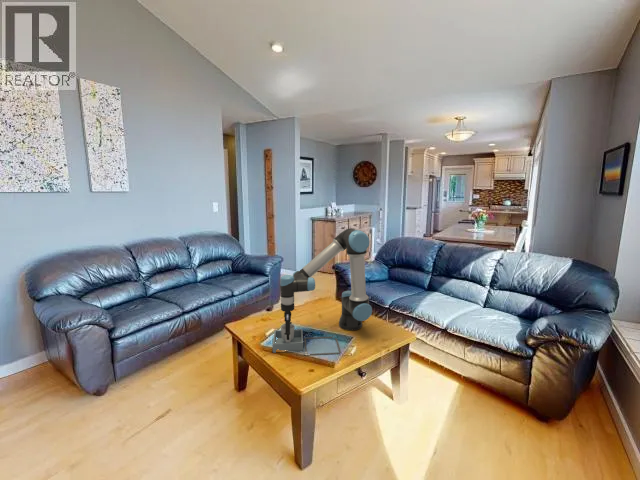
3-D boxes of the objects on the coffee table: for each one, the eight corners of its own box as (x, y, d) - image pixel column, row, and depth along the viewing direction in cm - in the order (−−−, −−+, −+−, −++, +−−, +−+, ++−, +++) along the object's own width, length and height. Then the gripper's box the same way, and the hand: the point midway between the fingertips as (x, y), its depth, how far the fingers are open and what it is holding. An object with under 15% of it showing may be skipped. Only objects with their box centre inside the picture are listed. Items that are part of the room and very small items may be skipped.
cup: (296, 344, 173) (296, 330, 172) (282, 345, 171) (282, 332, 170) (293, 335, 183) (293, 322, 182) (280, 337, 181) (279, 324, 180)
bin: (302, 337, 186) (302, 329, 185) (303, 351, 170) (303, 342, 169) (274, 338, 185) (274, 330, 184) (272, 352, 169) (272, 344, 168)
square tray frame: (337, 337, 187) (337, 333, 187) (342, 355, 167) (342, 351, 166) (302, 338, 185) (302, 335, 185) (303, 357, 165) (303, 353, 165)
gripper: (281, 296, 184) (282, 330, 188) (279, 311, 162) (280, 350, 165) (294, 295, 185) (294, 330, 189) (294, 310, 162) (294, 349, 166)
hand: (288, 339), depth 177 cm, fingers closed on cup, 11 cm apart
